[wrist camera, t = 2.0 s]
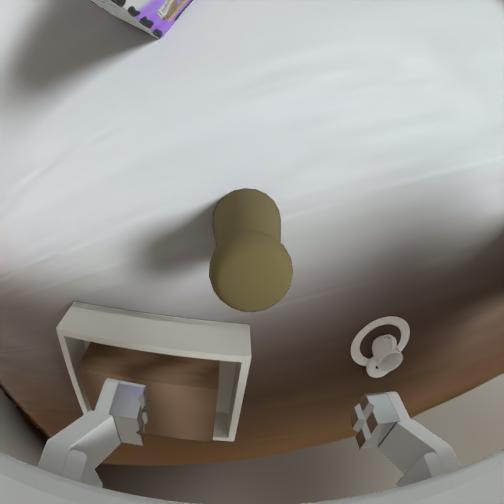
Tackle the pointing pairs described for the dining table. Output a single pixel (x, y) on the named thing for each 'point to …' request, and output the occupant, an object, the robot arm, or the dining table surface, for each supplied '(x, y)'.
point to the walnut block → (159, 387)
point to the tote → (163, 349)
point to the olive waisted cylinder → (249, 252)
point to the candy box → (146, 13)
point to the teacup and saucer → (382, 347)
